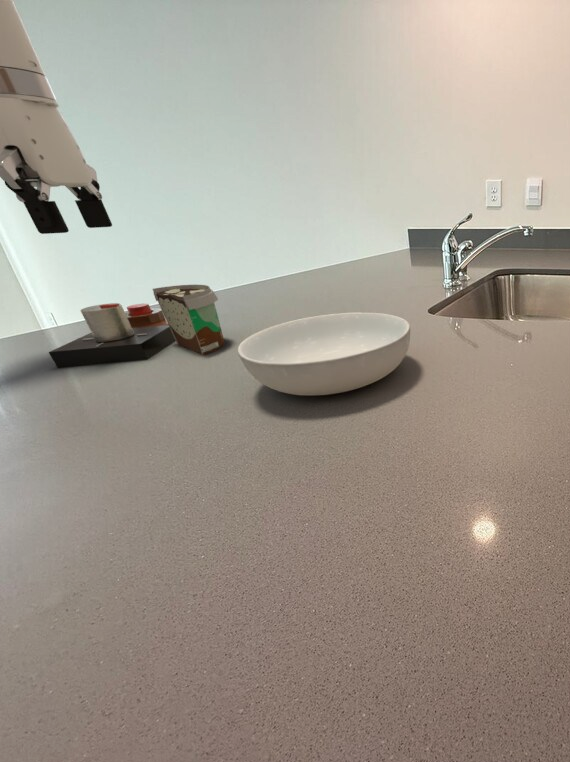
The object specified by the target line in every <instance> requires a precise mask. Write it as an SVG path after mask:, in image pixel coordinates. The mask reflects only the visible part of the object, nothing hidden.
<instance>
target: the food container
mask: <svg viewBox="0 0 570 762" xmlns="http://www.w3.org/2000/svg"><path fill="white" fill-rule="evenodd" d="M152 291H153V292H152V293H153V296H154V299H155V301H156V302H157V304H158V305H159V308H160V309H161V310H162V312H163V315H164V316H165V318H166V320H167V323H168V325H169V327H170V329H171V332H172V334H173V336H174V338H175V340H176V341H175V343H176V344H177V345H176V346H180V347H182V348H185V349H187V350H190V351H193V352H196V353H198V354H200V355H202V356H206V355H208V354H211V353H214V352H216V351H218V350H220V349H221V348H223V347H225V345H226V342H225V339H224V335H223V331H222V327H221V323H220V320H219V316H218V312H217V308H216V305H215V303H216V302H217V301H218V299H219V298H218V296H217V295H216V293H215V291H214V290H213V289H211V287H210V286H209V285H207V284H178V285H170V286H169V285H168V286H161V287H156V288H155V287H154V288H152Z"/></svg>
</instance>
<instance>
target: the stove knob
mask: <svg viewBox="0 0 570 762" xmlns="http://www.w3.org/2000/svg"><path fill="white" fill-rule="evenodd" d="M80 313H81V315H82V317H83V319H84V321H85V323H86V324H87V327H88V329H89V331H90V333H92V335H93V337H94V339H95V341H97V342H109V341H116V340H120V339H124V338H128V337H130V336H132V335H134V331H133V329H132V327H131V325H130V323H129V320H128V318H127V316H126V314H125V313H126V312H125V309H124V307H123V305H122V303H118V302H113V303H112V302H111V303H101V304H95V305H91V306H86V307H83V308H81V309H80Z"/></svg>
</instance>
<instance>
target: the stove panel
mask: <svg viewBox="0 0 570 762" xmlns="http://www.w3.org/2000/svg"><path fill="white" fill-rule="evenodd" d="M132 329H133V331H134V335H132V336H130V337H128V338H124V339H120V340H116V341H109V342H97V341H95V339H94V337H93V335H92V333H91V332H90V333H87V334H85V335H83V336H80V337H79V338H76V339H74V340H72V341H70V342H67V343H65V344H63V345H61V346H59V347H57V348H55V349H53V350H50V351H48V354H49V356H50V357H51V359H52V361H53V363H54V365H55V366H56V368H57V369H64V368H76V367H86V366H87V367H88V366H96V365H105V364H107V365H108V364H116V363H117V364H118V363H125V362H126V363H127V362H135V361H136V362H138V361H146V360H149V359H151V358H152V357H154V356H156V355H157V354H159V353H160V352H161V351H163V350H165V349H166V348H167V347H169V346H171V345H172V344H174V343H176V340H175V338H174V336H173V334H172V332H171V329H170V327H169V325H167V326H155V327H143V328H132Z"/></svg>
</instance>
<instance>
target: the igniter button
mask: <svg viewBox="0 0 570 762" xmlns="http://www.w3.org/2000/svg"><path fill="white" fill-rule="evenodd" d="M126 309H127V312H129V314H130V316H136V315H143V314H148V313H151V312H152V311H151V309H152V308H151V306H150V304H149V303H136V304H131V305H128V306H126Z"/></svg>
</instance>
